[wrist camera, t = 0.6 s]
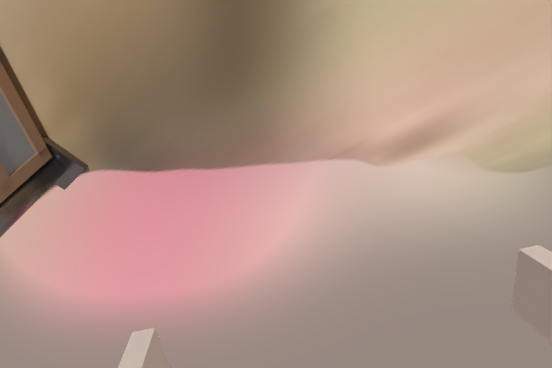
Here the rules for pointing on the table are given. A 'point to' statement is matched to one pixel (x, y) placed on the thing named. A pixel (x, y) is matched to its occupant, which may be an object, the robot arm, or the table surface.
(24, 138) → the gate leaf
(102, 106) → the table surface
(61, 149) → the hinge post
